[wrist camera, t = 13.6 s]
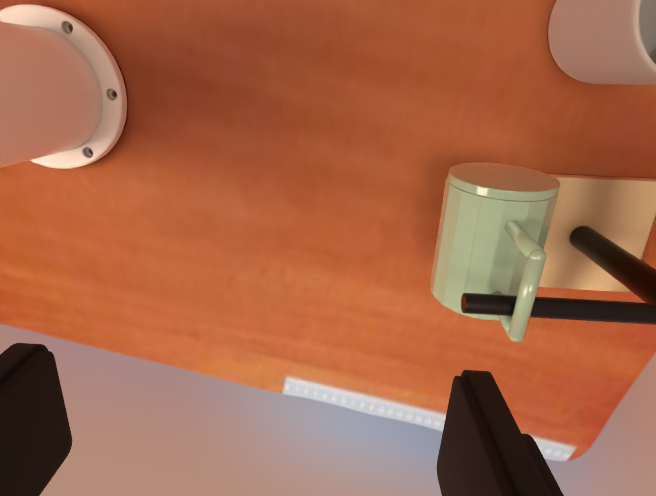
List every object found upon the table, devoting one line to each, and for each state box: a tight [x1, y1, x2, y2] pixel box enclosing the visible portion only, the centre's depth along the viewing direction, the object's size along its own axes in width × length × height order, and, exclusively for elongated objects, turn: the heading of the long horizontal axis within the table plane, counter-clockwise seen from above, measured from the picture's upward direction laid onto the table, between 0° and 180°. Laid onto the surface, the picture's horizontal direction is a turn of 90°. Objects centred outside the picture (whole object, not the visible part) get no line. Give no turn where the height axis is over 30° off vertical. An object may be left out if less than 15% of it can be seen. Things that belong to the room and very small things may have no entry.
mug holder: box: [461, 174, 656, 325], centre depth 32 cm, size 19×10×15 cm, turn 88°
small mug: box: [430, 162, 560, 342], centre depth 29 cm, size 11×7×9 cm
